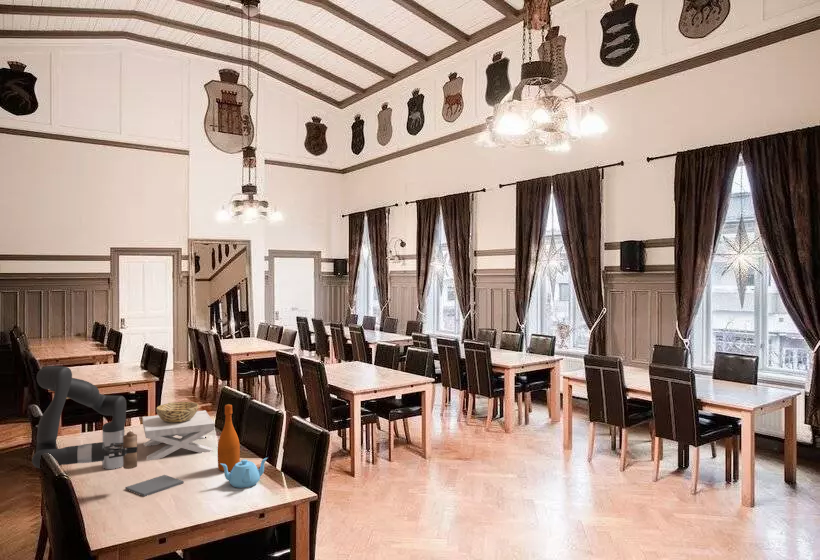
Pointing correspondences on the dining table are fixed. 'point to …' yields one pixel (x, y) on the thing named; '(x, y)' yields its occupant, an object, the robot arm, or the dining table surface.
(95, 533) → the dining table surface
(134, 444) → the pepper mill
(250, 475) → the teapot
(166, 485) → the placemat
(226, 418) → the wine bottle
